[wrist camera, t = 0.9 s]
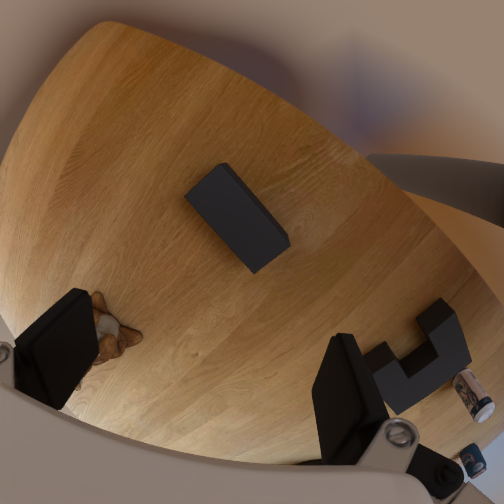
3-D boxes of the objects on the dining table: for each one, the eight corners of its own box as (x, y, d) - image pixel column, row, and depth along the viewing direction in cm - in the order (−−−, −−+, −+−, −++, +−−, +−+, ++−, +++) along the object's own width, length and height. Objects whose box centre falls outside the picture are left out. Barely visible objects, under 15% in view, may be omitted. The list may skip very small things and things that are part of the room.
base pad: (440, 297, 36) (455, 311, 31) (460, 347, 39) (472, 361, 34) (357, 359, 40) (364, 379, 35) (390, 398, 43) (397, 415, 38)
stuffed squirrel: (149, 335, 40) (114, 396, 27) (99, 363, 43) (66, 413, 30) (105, 283, 37) (54, 332, 25) (62, 321, 40) (19, 364, 28)
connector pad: (226, 162, 31) (219, 163, 27) (287, 234, 34) (290, 246, 29) (194, 190, 33) (183, 196, 28) (255, 259, 35) (253, 274, 31)
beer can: (452, 374, 41) (478, 415, 30) (470, 363, 40) (498, 402, 29) (450, 388, 42) (473, 428, 31) (468, 378, 42) (493, 415, 30)
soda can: (463, 447, 52) (475, 473, 41) (479, 439, 52) (491, 464, 40) (455, 457, 55) (466, 482, 43) (471, 450, 54) (482, 474, 43)
